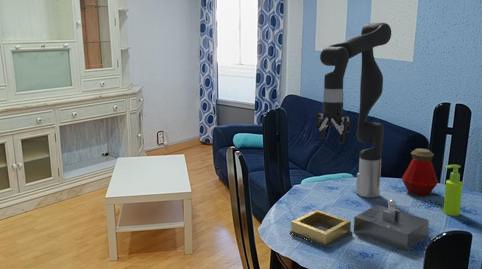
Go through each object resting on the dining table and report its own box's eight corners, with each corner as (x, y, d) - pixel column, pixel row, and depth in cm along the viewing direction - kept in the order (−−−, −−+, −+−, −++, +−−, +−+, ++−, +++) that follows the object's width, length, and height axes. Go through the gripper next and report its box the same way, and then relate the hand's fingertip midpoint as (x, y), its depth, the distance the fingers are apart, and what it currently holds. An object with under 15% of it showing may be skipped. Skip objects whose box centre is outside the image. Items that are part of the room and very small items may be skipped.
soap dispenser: (437, 210, 170) (442, 163, 166) (454, 209, 170) (458, 162, 166) (446, 216, 164) (450, 167, 160) (462, 215, 165) (467, 167, 160)
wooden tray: (291, 231, 152) (291, 221, 151) (316, 219, 162) (316, 209, 162) (325, 245, 141) (326, 234, 141) (350, 231, 152) (350, 221, 151)
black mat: (289, 233, 152) (289, 231, 152) (316, 220, 163) (316, 218, 163) (326, 248, 141) (326, 246, 141) (352, 233, 151) (352, 231, 151)
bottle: (394, 191, 192) (397, 149, 188) (411, 185, 200) (414, 144, 196) (426, 201, 180) (430, 156, 176) (443, 194, 188) (447, 151, 184)
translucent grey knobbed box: (353, 232, 152) (355, 198, 149) (376, 219, 163) (377, 187, 160) (406, 251, 138) (409, 214, 135) (427, 235, 149) (430, 201, 146)
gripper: (312, 99, 161) (311, 140, 165) (343, 103, 151) (342, 146, 155) (323, 97, 166) (322, 137, 170) (355, 100, 156) (353, 142, 160)
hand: (331, 141), depth 162 cm, fingers open, 8 cm apart
